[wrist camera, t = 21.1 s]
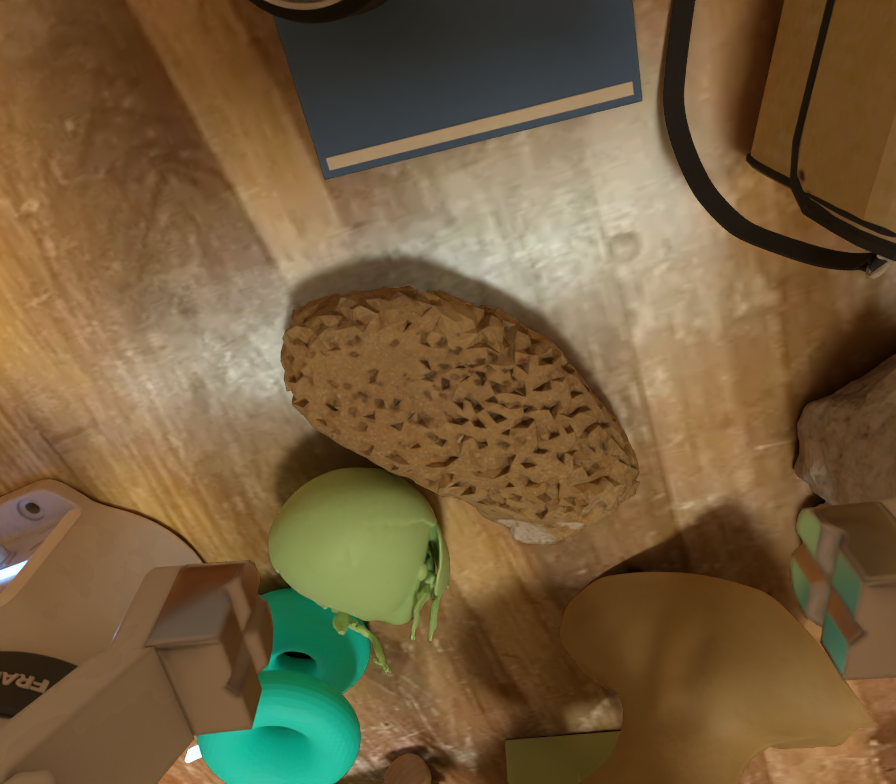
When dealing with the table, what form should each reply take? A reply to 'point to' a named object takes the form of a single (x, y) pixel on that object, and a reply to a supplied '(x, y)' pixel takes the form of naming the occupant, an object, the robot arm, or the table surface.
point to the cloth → (455, 73)
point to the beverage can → (316, 9)
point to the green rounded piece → (362, 550)
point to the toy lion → (409, 771)
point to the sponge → (460, 407)
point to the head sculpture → (703, 677)
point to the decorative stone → (852, 440)
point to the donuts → (297, 703)
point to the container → (557, 757)
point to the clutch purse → (812, 128)
